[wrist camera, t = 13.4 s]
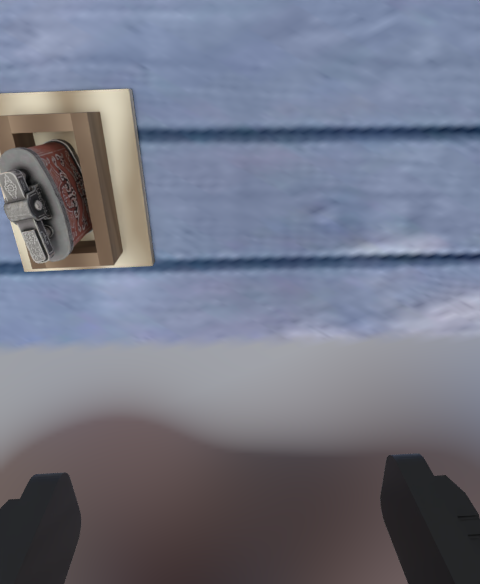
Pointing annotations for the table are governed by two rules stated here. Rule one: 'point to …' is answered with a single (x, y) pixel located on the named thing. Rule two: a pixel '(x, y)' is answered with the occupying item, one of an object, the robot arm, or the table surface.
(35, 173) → the lighter
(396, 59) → the table surface
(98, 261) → the wooden box with base
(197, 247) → the table surface
